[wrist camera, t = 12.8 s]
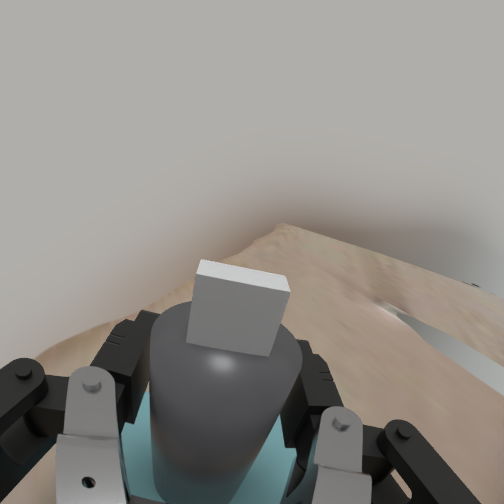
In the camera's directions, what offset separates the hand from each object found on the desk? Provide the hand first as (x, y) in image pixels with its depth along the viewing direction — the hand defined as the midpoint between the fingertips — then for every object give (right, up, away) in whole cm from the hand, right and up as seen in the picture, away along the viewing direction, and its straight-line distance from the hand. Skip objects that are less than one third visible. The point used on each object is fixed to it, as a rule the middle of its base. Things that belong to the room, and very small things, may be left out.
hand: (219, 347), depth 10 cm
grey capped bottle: (-2, -8, 0) cm, 8 cm away
